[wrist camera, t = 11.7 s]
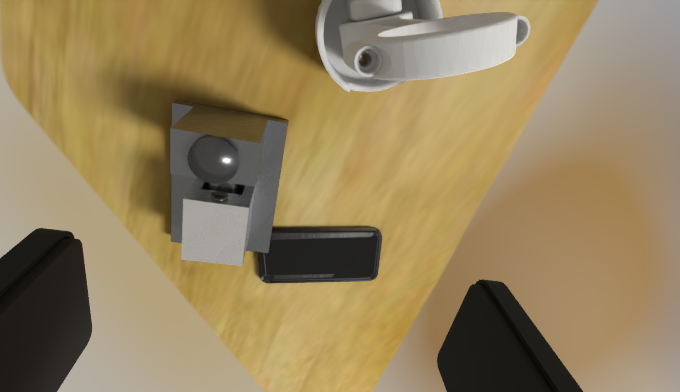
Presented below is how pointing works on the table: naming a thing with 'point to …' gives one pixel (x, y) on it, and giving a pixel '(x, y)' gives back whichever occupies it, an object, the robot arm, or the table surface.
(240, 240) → the block
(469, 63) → the engine component
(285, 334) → the table surface
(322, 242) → the phone
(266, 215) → the coupler
